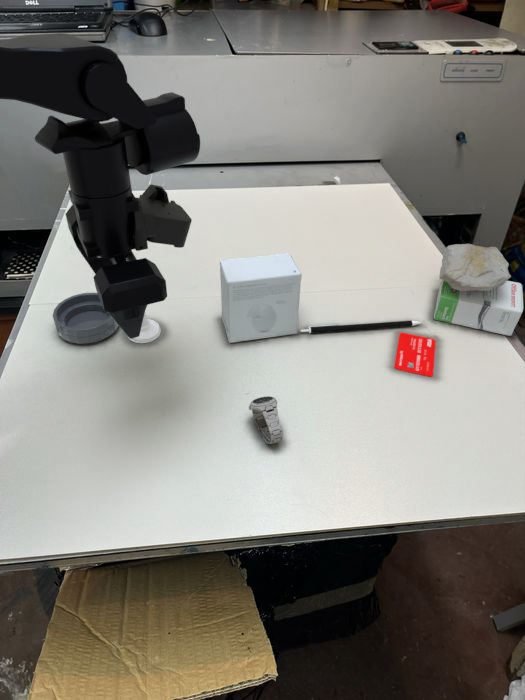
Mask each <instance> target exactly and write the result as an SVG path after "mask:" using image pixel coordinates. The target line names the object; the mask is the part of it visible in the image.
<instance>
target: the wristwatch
mask: <svg viewBox="0 0 525 700" xmlns="http://www.w3.org/2000/svg"><path fill="white" fill-rule="evenodd" d="M248 410H249V411H251V412H252V418H253V420H254V424H255V425H256V427H257V430H258V432H259V435H260V437H261V438H262V439H263V441H264V442H265V444H266V445H270V444H271V445H272V444H277V443H279V442H281V441H282V440H283V438H284V433H283V429H282V425H281V421H280V418H279V412H278V401H277V398H276V397H274V396H270V395H268V396H267V395H266V396H260V397H257V398H255V399H252V400H251V401H250V403H249V405H248Z"/></svg>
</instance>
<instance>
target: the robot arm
mask: <svg viewBox="0 0 525 700" xmlns="http://www.w3.org/2000/svg"><path fill="white" fill-rule="evenodd" d="M0 100H8V101H9V100H10V101H11V100H12V101H18V102H21V103H25V104H29V105H33V106H37V107H39V108H42V109H46V110H49V111H52V112H56V113H59V114H62V115H67V116H71V117H75V118H78V120H73V121H67V122H65V121H63V120H61V119H60V118H58V117H56V116H54V115H49V116H48V117H47V119H46V120H47V121H46V123H45V124H44V125H43V127H41V128H40V130H39V131H38V132H37V133H36V135H35V136H34V141H35V143H37V144H38V145H39V146H41V147H43V148H45V150H48V151H49V152H51V153H52V154H54V155H61V154H62V156H63V157H62V158H63V160H64V166H65V169H66V174H67V180H68V183H69V189H70V190H68V195H69V200H70V202H71V204H72V205H71V206H70V207H69V209H67V211H66V212H65V218H66V223H67V227H68V230H69V232H70V234H71V237H72V239H73V241H74V244H75V246H76V248H77V250H78V252H79V253H80V255H81V256H82V257H83V258H84V260H85V261H86V263H87V265H88V266H89V267H90V269H91V270H92V272H93V273H94V276H93V282H94V287H95V290H96V293H97V294H98V297H99V299H100V302H101V304H102V306H103V309H104V311H105V312H108V313H109V314H110V316H111V317H112V318H113V319H114V320H115V321H116V322H117V324H118V325H119V326H118V327H120V329H121V330H122V331H123V332H124V334H125V335H126V337H127V336H128V337H129V338H130V339H131V338H135V337H138V336H139V335H140V331H141V326H142V322H143V318H144V313H146V310H147V307H148V305H152V304H156V303H159V302H164V301H165V300H166V299H167V297H168V291H167V290H168V289H167V282H166V278H165V277H164V275H163V274H162V272H161V271H160V269H159V268H158V266H157V264H156V263H155V262H153V261H151V260H149V259H148V258H146V257H144V258H139V259H137V257H136V256H135V254H134V252H133V250H135V251H136V252H139V251H144V250H148V249H149V246H148V242H150V243H153V244H161V245H168V246H173V247H174V248H179V249H181V248H184V247H185V245H186V241H187V237H188V234H189V231H190V228H191V224H192V218H191V217H190V215H189V214H188V213H187V211H186V210H185V209H184V208H183V206H181V205H180V204H178V203H177V202H175V200H172V199H171V200H169V196H168V192H167V191H166V190H165V189H164V187H163V186H161V185H156V184H149V186H148V187H147V188H146V189H145V190H144V191H143V193H141V194H140V195H139V197H137V196H135V194H134V193H133V190H132V183H131V175H130V167H131V168H135V170H136V171H137V172H138V173H140V174H141V175H143V176H144V175H145V176H148V175H152V174H155V173H158V172H162V171H165V170H168V169H171V168H175V167H178V166H182V165H185V164H188V163H192V162H194V161H195V160H196V159H197V158H198V156H199V154H200V150H201V136H200V134H199V133H198V130H197V126H196V123H195V121H194V119H193V116H192V115H191V114H190V113H189V111H188V110H187V109H186V98H185V97H184V96H182V95H180V94H177V93H175V92H172V91H170V92H165V93H162V94H160V95H158V96H157V97H153V98H148V99H144V100H143V99H142V98H141V97H140V95H139V94H138V93H137V92H136V91H135V89H134V88H133V86H131V84H129V82H128V75H127V72H126V69H125V66H124V64H123V62H122V61H121V59H120V57H119V56H118V54H117V53H116V52H115V51H114V50H112V49H111V48H107V47H106V46H103V45H99V44H97V43H94V42H91V41H89V40H86V39H83V38H81V37H77V36H75V35H73V34H69V33H66V32H65V33H64V32H54V33H40V34H25V35H20V36H17V37H12V38H3V39H2V38H1V39H0ZM112 119H115V120H113V121H110V120H112ZM107 121H108V122H107ZM101 122H102V123H101ZM128 337H127V338H128ZM129 338H128V339H129ZM130 339H129V340H130Z"/></svg>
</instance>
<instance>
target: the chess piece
mask: <svg viewBox="0 0 525 700" xmlns="http://www.w3.org/2000/svg"><path fill="white" fill-rule="evenodd" d="M161 333H162V330H161V326H160V325H159V323H158V322H157V321H155V320H153V319H150V318H148V317H147V313H146V312H145V313H144V318H143V322H142V326H141V331H140V335H139V336H138V337H135V338H131V339H130V338H129V337H128V336H127V335H126V337H127V339H128V340H130V341H131V342H133V343H135V344H146V343H147V344H148V343H151V342H153V341H156V340H157V339H158V338H159V337H160V335H161Z"/></svg>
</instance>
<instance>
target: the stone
mask: <svg viewBox="0 0 525 700" xmlns="http://www.w3.org/2000/svg"><path fill="white" fill-rule="evenodd" d="M509 266H510V263H509V262H508V261H507V259H505V257H504V255H503V254H502V252H501V251H500V250H499V249H498V247H496V246H490V247H485V246H481V245H475V244H472V243H462V244H459V243H458V244H457V243H455V244H450V245H448V246H446V247H445V249H444V250H443V255H442V260H441V267H440V270H439V280H441V281H442V280H446V281H447V282H448V284H449V285H450V286H451V287H452V288H453V289H455V290H459V291H474V290H477V291H479V290H481V291H490V290H491V289H493V288H496V287H499V286H502V285H503V284H504V283H505V282H506V281H509V279H511V278H512V275H511V274H510V272H509V269H508V268H509Z"/></svg>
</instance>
